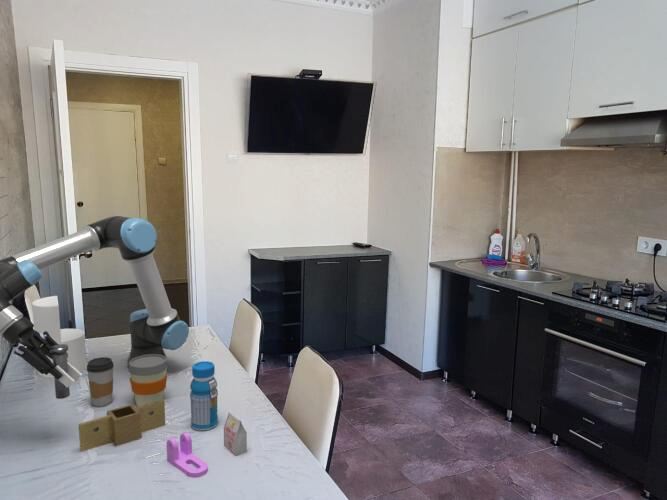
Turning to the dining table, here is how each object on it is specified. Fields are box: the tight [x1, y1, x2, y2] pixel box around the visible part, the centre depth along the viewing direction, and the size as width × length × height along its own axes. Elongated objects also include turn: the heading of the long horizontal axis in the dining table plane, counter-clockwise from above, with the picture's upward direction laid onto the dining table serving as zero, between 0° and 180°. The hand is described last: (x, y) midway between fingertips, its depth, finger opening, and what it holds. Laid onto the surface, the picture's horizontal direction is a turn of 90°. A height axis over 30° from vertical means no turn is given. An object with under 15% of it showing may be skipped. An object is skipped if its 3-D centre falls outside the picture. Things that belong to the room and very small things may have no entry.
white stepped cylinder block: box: [31, 295, 88, 378], centre depth 196 cm, size 17×17×28 cm
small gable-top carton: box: [223, 412, 248, 457], centre depth 143 cm, size 4×7×10 cm, turn 40°
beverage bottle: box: [189, 360, 219, 431], centre depth 156 cm, size 8×8×20 cm
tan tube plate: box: [78, 399, 166, 452], centre depth 149 cm, size 24×7×8 cm, turn 130°
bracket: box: [166, 431, 209, 479], centre depth 135 cm, size 13×6×7 cm, turn 49°
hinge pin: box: [50, 344, 71, 400], centre depth 144 cm, size 5×5×15 cm
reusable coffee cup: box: [128, 354, 168, 407], centre depth 171 cm, size 13×12×15 cm
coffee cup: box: [86, 356, 115, 408], centre depth 169 cm, size 8×8×15 cm
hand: (74, 380), depth 144 cm, fingers closed on hinge pin, 3 cm apart
